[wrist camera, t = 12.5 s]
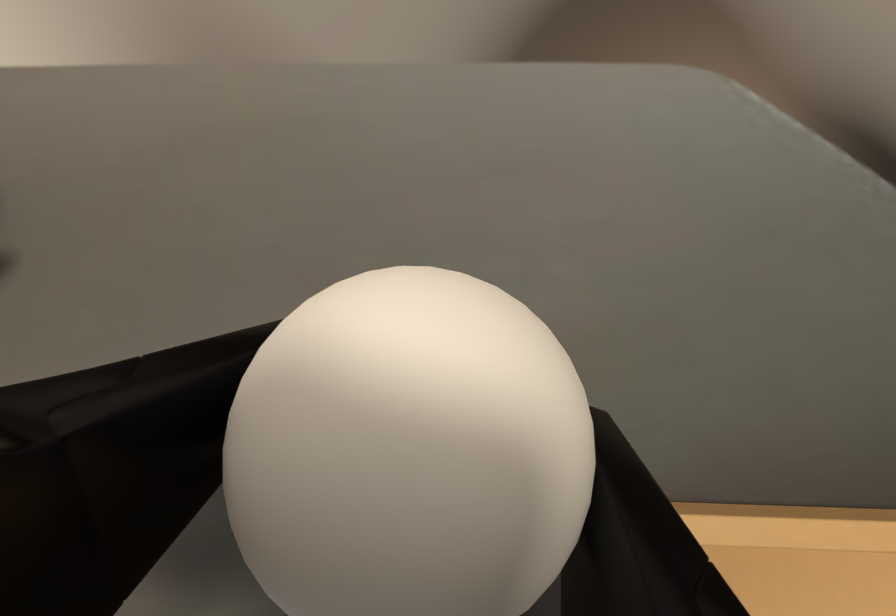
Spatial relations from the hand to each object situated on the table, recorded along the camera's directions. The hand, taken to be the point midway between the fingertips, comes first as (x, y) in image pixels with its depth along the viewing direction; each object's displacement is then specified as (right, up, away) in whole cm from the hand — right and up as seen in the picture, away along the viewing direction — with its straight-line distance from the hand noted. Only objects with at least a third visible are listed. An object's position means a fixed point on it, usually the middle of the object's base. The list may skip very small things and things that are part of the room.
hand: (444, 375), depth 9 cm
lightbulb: (0, -3, +6) cm, 7 cm away
